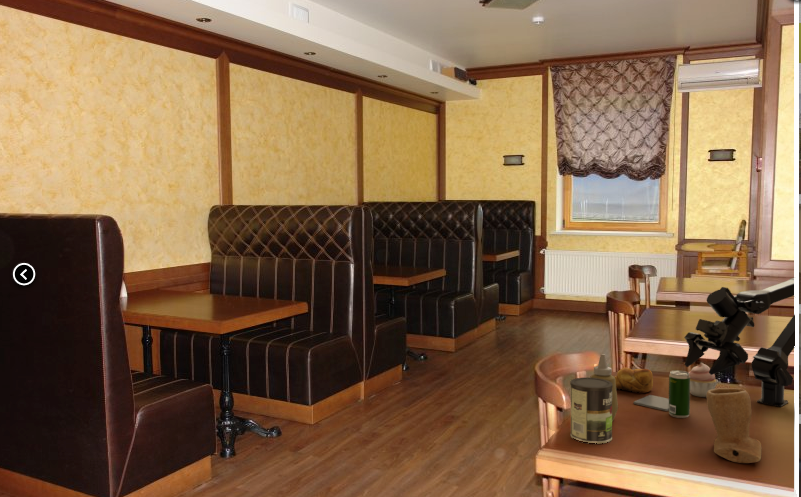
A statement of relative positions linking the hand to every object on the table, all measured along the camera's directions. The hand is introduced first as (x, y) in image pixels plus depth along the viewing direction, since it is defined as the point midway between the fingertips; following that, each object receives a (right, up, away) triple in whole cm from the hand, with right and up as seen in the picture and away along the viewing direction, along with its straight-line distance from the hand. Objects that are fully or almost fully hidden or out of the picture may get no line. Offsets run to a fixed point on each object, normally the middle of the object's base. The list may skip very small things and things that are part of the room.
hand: (697, 369), depth 183 cm
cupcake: (+9, -11, +18) cm, 23 cm away
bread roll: (-9, -11, +25) cm, 29 cm away
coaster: (-7, -12, +10) cm, 17 cm away
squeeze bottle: (-28, -13, -4) cm, 31 cm away
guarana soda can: (-6, -13, -1) cm, 14 cm away
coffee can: (-35, -14, -17) cm, 41 cm away
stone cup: (-5, -15, -29) cm, 32 cm away
